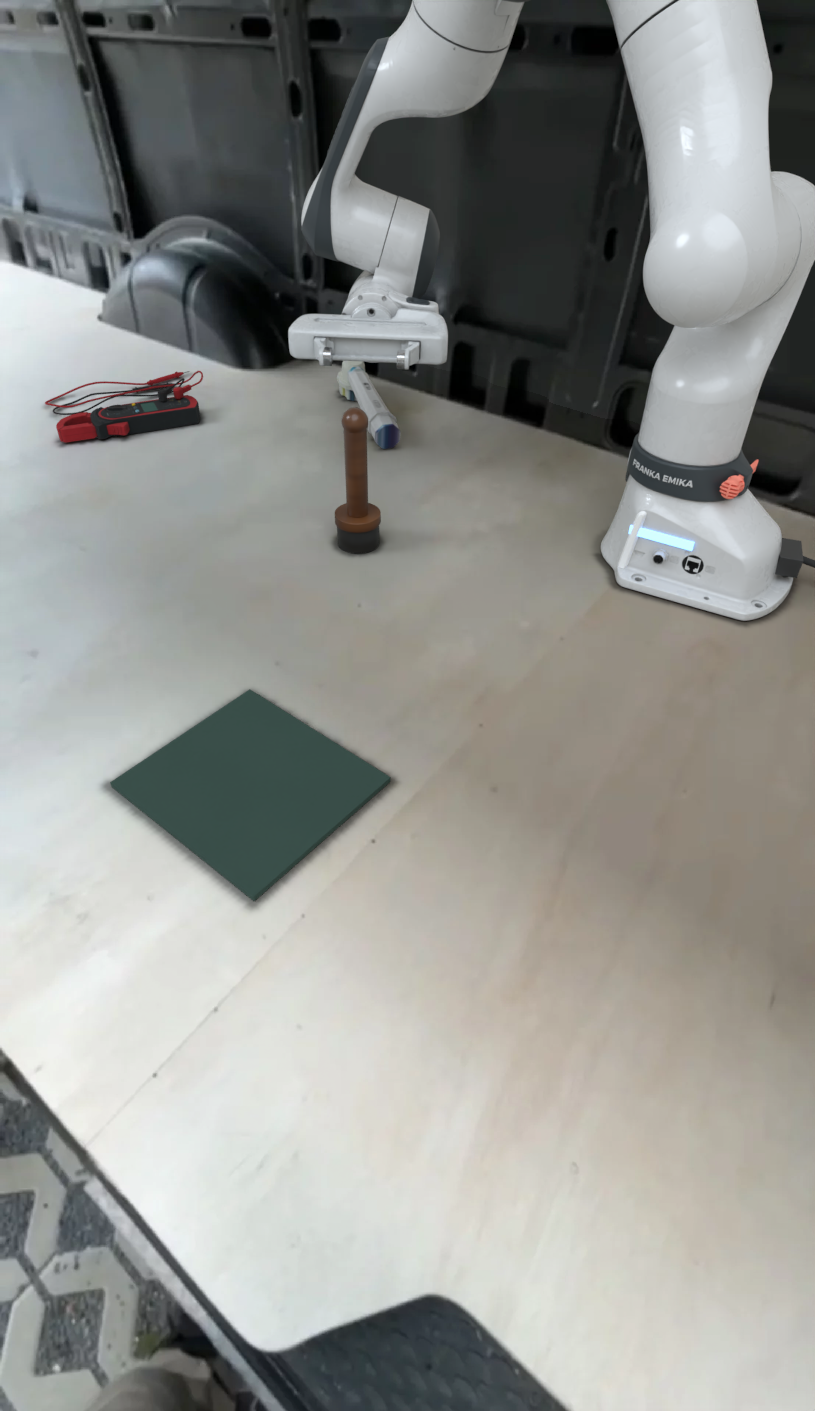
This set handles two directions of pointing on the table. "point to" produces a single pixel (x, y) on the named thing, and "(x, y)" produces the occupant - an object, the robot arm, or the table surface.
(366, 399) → the toothbrush head
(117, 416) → the digital clamp meter
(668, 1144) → the table surface
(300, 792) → the mat
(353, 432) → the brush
